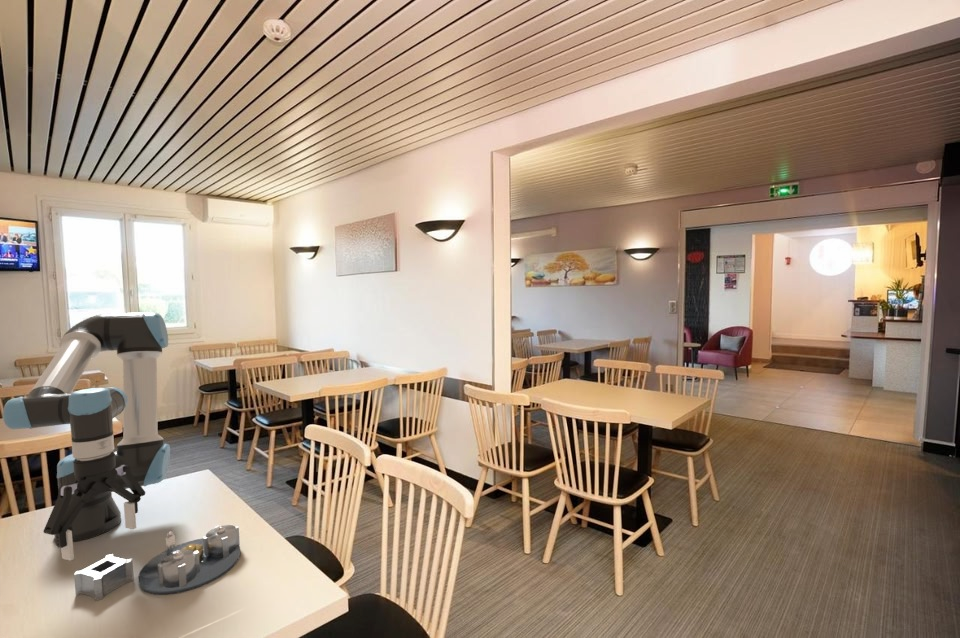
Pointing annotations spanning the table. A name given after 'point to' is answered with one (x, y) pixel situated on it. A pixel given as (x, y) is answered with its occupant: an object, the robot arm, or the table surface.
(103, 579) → the grey square frame
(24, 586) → the table surface
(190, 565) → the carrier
